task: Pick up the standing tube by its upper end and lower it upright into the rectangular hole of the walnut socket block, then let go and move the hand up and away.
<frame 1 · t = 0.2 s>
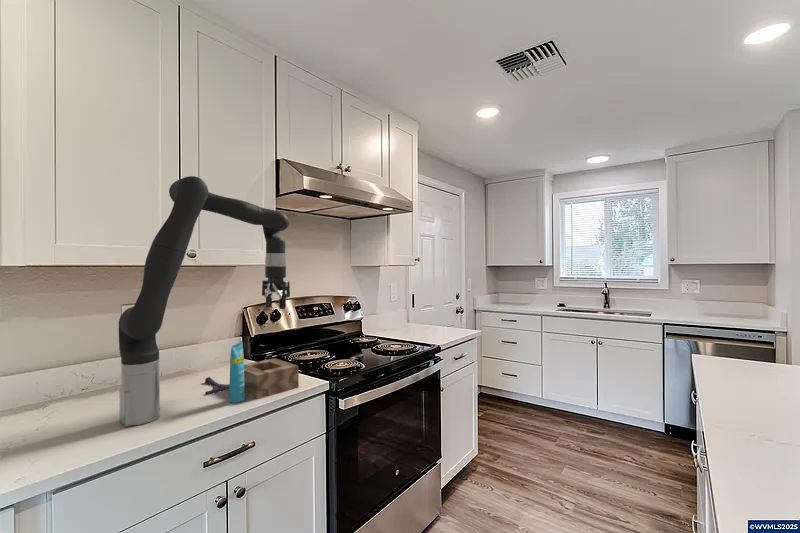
hand: (275, 308, 144), 29 cm above the worktop, tool pointing down, fingers open, 8 cm apart
socket block: (266, 387, 140), on the worktop
bracket: (217, 388, 142), on the worktop
tube: (237, 400, 127), on the worktop
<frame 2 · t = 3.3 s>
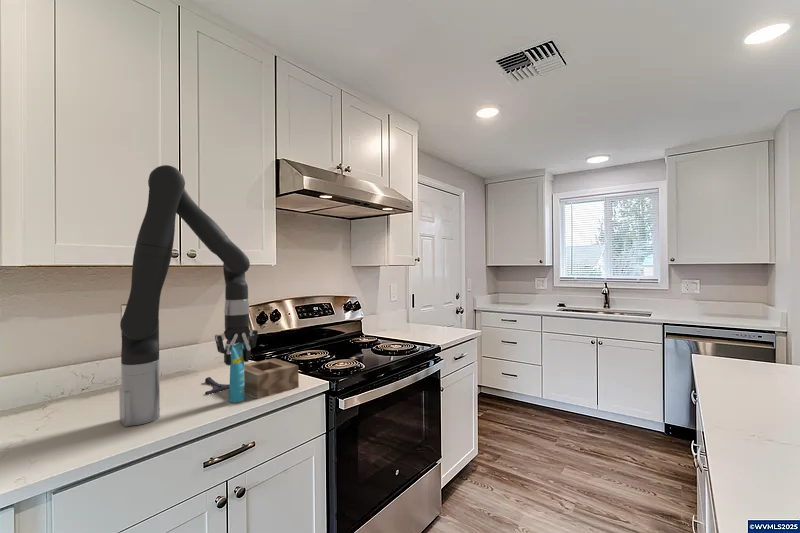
hand: (237, 363, 127), 12 cm above the worktop, tool pointing down, fingers closed on tube, 5 cm apart
tube: (237, 400, 127), on the worktop, touching gripper
everything else where it was.
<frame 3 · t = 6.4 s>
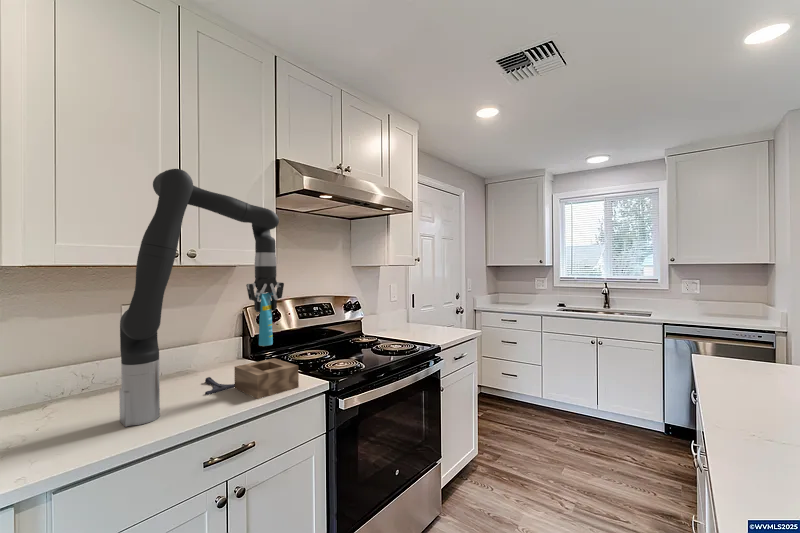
hand: (265, 310, 139), 28 cm above the worktop, tool pointing down, fingers closed on tube, 5 cm apart
tube: (266, 345, 139), point 16 cm above the worktop, touching gripper
everything else where it was.
when the fingers open (14 cm above the worktop, at t = 9.4 s): tube drops 2 cm, resting in socket block.
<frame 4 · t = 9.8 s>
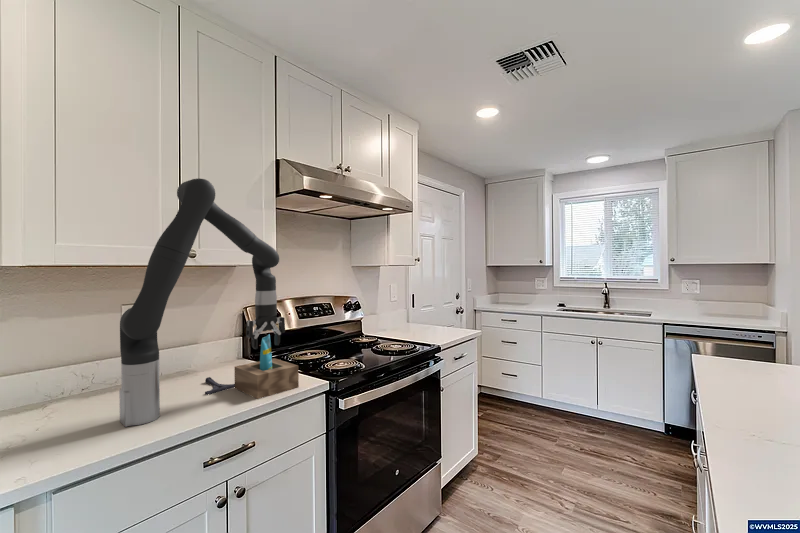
hand: (266, 346, 139), 15 cm above the worktop, tool pointing down, fingers open, 8 cm apart
tube: (266, 388, 139), resting in socket block
everything else where it was.
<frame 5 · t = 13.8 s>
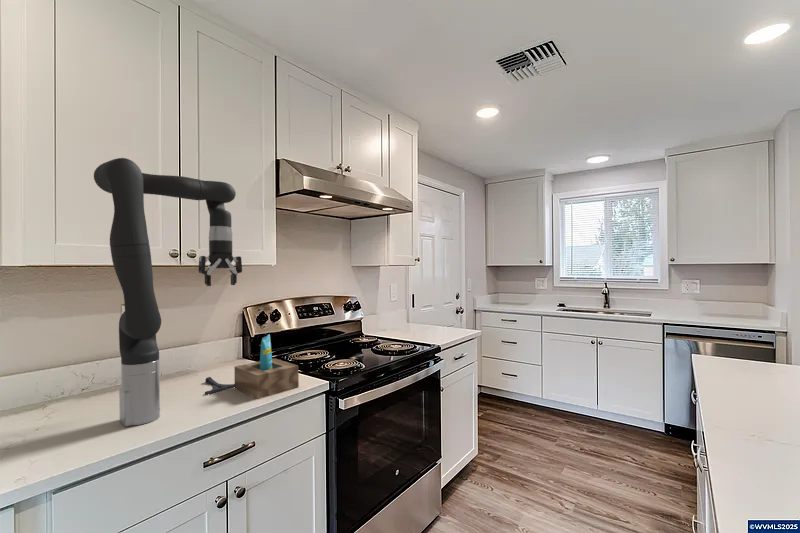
hand: (221, 285, 135), 38 cm above the worktop, tool pointing down, fingers open, 8 cm apart
nothing on the worktop moved.
at the end: tube 0.1 cm off-centre on the socket block, point 0.0 cm above the socket block's base; tube tilted 0°; the gripper is holding nothing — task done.
